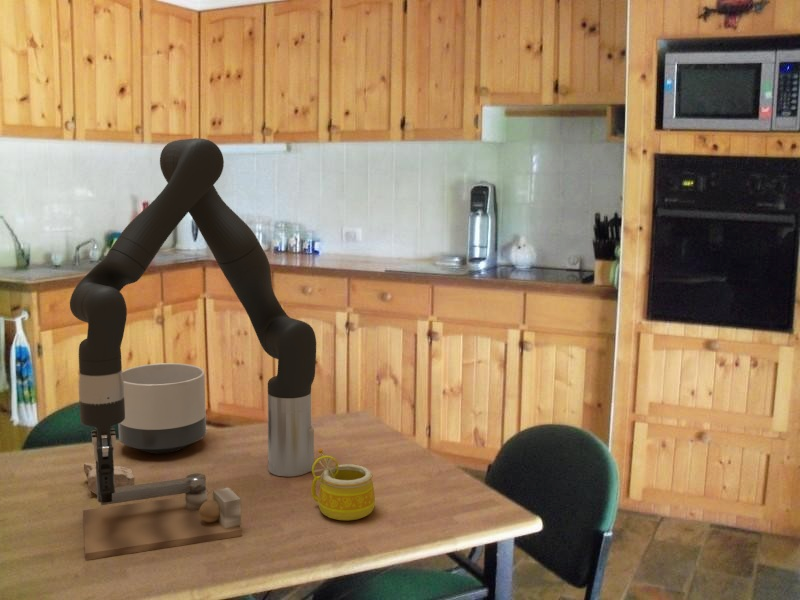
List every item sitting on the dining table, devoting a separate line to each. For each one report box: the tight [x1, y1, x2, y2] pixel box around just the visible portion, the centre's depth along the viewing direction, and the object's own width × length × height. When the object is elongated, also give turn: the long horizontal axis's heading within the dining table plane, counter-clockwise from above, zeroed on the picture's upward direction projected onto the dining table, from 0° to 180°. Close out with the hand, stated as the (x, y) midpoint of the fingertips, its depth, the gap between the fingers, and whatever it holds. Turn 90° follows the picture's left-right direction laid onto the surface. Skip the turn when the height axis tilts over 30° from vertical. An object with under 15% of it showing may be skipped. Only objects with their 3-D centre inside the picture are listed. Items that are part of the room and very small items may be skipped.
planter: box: [117, 362, 207, 455], centre depth 186 cm, size 19×19×18 cm
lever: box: [95, 461, 207, 506], centre depth 149 cm, size 19×4×8 cm, turn 114°
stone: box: [83, 462, 136, 496], centre depth 165 cm, size 9×11×5 cm
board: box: [82, 487, 243, 561], centre depth 147 cm, size 26×18×6 cm
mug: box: [310, 448, 376, 522], centre depth 154 cm, size 13×11×12 cm
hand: (105, 488), depth 146 cm, fingers closed on lever, 3 cm apart
